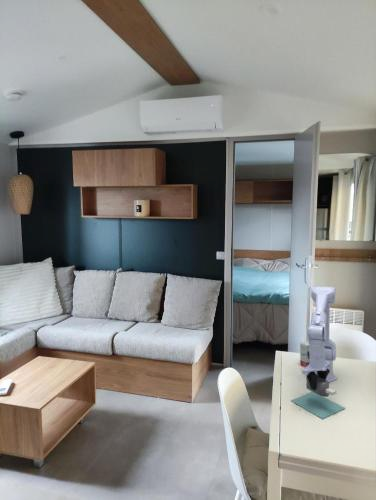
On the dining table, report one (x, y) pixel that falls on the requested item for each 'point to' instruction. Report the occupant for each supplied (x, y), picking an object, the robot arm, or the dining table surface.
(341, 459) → the dining table surface
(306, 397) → the charging mat
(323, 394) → the cylinder
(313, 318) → the robot arm
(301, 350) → the ink box
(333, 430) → the dining table surface
